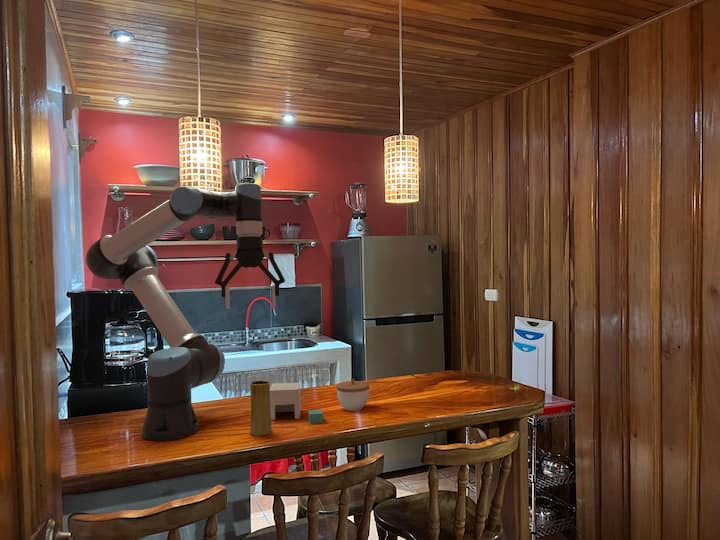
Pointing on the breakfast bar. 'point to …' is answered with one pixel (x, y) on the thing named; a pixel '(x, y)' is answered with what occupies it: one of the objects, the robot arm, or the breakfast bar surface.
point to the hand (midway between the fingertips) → (251, 307)
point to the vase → (260, 408)
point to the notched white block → (285, 398)
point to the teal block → (315, 416)
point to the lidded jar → (352, 394)
